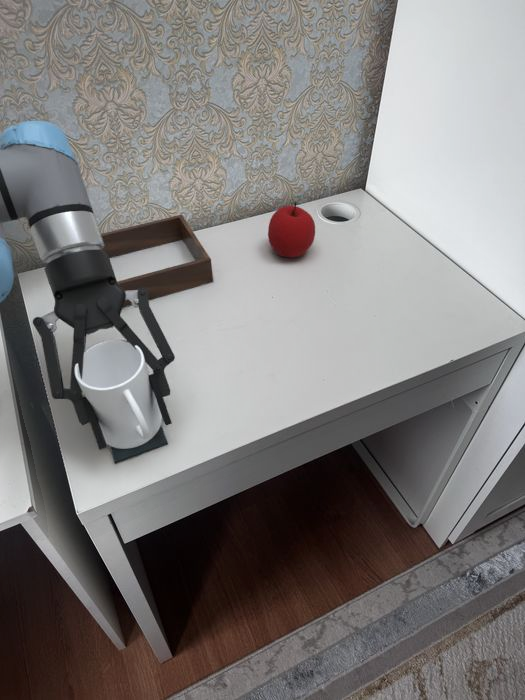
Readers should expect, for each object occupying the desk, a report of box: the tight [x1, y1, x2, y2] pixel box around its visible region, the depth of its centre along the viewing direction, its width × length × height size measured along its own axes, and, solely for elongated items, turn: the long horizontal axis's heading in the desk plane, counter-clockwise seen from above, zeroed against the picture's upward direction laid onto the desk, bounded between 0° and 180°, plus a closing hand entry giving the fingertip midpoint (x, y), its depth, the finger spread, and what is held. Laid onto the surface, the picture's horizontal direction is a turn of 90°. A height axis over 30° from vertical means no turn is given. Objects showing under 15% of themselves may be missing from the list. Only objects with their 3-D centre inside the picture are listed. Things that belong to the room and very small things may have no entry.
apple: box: [267, 201, 316, 258], centre depth 90 cm, size 9×9×10 cm
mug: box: [75, 339, 163, 449], centre depth 60 cm, size 12×8×12 cm
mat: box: [109, 425, 169, 465], centre depth 64 cm, size 7×7×1 cm
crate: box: [101, 214, 214, 308], centre depth 88 cm, size 16×20×5 cm
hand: (136, 434), depth 59 cm, fingers closed on mug, 7 cm apart
